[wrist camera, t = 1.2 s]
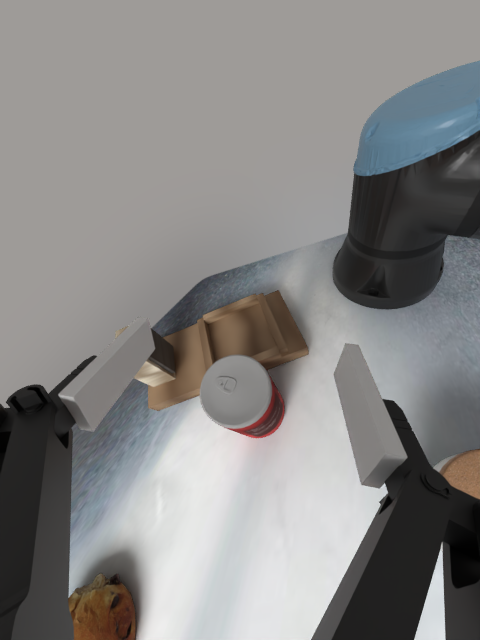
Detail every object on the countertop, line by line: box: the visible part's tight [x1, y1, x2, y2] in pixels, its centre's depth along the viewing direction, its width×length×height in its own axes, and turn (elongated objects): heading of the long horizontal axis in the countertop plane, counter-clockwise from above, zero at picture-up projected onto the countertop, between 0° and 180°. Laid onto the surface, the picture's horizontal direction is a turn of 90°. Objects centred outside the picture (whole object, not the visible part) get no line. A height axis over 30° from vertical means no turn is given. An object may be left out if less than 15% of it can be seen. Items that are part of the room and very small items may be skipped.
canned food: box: [200, 355, 284, 438], centre depth 28 cm, size 8×8×11 cm
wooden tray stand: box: [115, 290, 308, 411], centre depth 34 cm, size 26×12×12 cm, turn 105°
